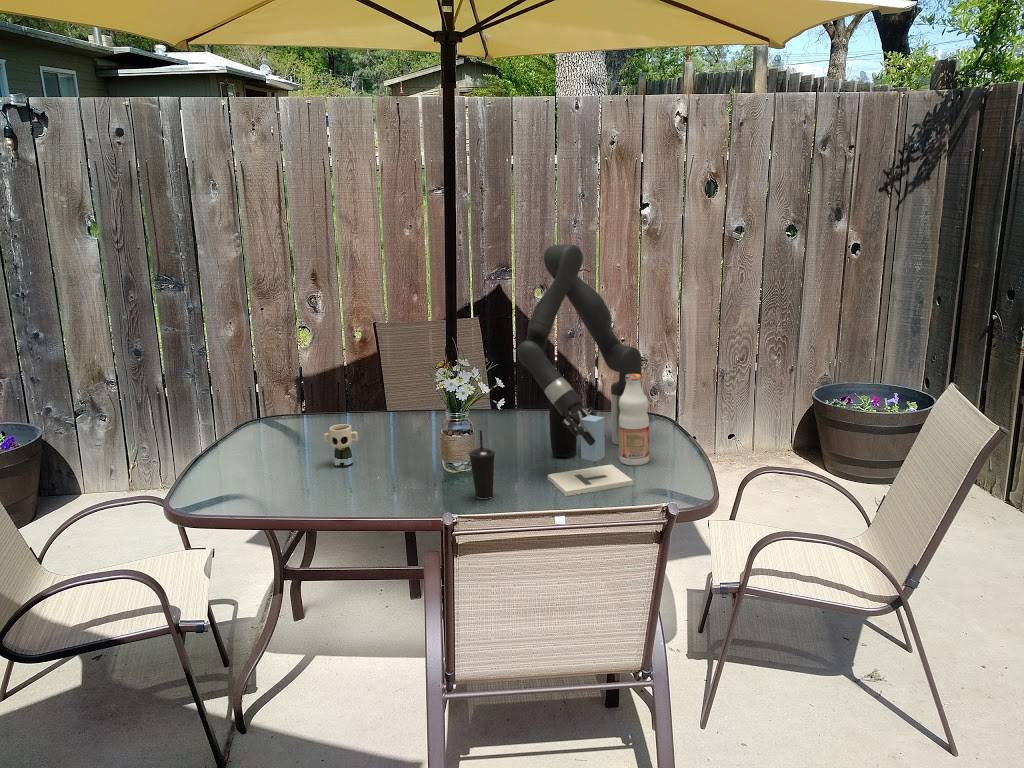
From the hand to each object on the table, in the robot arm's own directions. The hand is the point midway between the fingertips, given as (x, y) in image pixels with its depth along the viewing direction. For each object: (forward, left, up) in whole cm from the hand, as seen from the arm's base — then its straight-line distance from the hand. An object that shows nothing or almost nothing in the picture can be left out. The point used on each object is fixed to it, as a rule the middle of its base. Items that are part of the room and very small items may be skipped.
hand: (598, 441), depth 237 cm
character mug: (+69, -51, -14) cm, 87 cm away
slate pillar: (+1, -1, -5) cm, 6 cm away
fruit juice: (-18, -14, -14) cm, 26 cm away
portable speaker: (0, -29, -14) cm, 32 cm away
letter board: (+2, -3, -13) cm, 14 cm away
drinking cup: (+34, -5, -14) cm, 37 cm away
